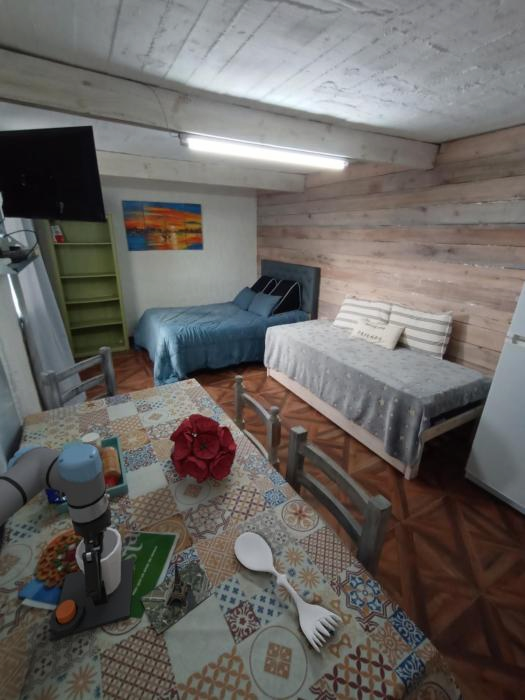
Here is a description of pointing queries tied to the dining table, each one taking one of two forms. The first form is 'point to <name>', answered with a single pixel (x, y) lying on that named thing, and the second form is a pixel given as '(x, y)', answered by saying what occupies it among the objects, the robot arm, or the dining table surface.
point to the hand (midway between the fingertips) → (105, 577)
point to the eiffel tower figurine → (177, 595)
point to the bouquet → (202, 449)
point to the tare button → (66, 611)
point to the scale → (85, 608)
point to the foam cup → (106, 558)
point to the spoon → (259, 558)
